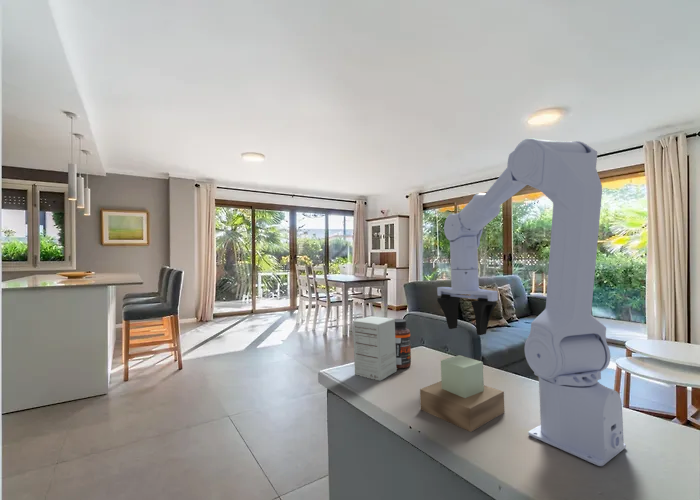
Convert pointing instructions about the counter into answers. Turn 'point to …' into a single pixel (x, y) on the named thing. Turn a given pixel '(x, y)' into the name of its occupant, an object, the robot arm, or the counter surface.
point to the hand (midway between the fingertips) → (466, 331)
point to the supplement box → (374, 347)
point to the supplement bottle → (402, 344)
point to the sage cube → (462, 376)
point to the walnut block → (462, 406)
